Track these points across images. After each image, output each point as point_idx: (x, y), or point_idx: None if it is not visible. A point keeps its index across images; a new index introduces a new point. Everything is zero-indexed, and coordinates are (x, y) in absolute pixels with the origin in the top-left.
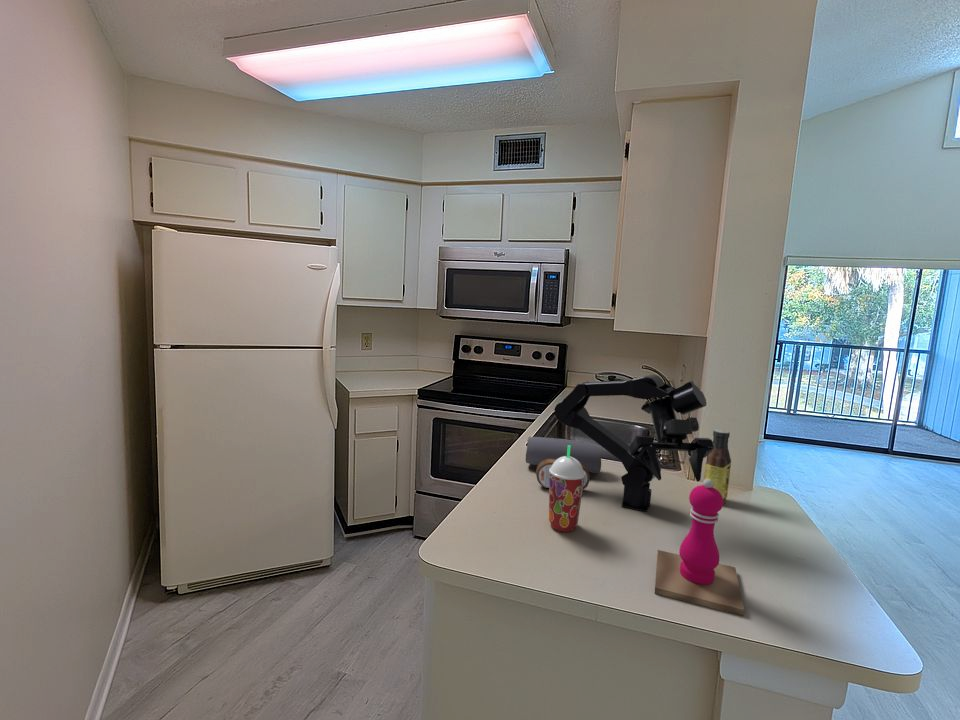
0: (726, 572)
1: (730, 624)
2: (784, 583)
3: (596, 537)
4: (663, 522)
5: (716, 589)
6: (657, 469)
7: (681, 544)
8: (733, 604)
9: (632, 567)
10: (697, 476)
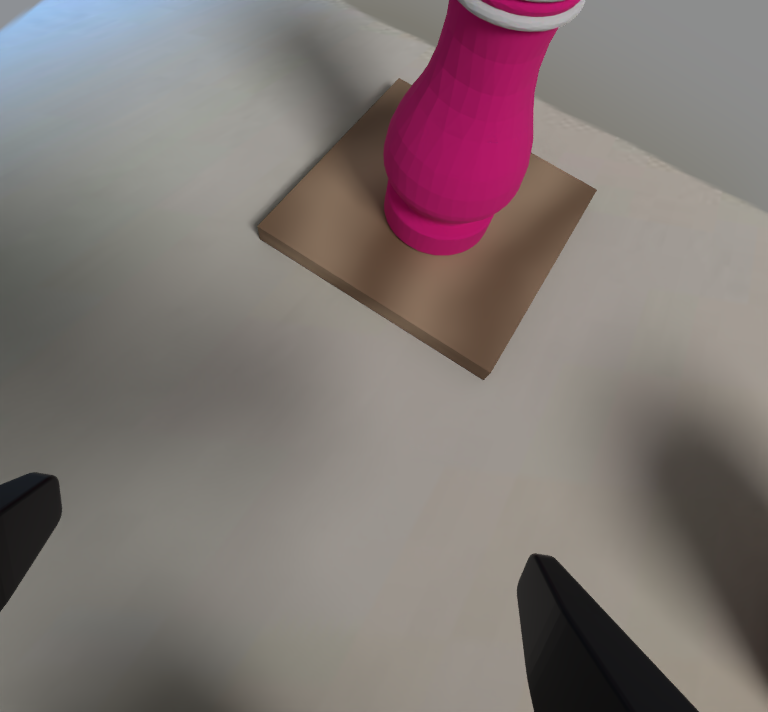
0: (317, 207)
1: None
2: (133, 166)
3: (694, 553)
4: (272, 700)
5: None
6: (620, 649)
7: (525, 167)
8: None
9: (607, 323)
10: (19, 521)
